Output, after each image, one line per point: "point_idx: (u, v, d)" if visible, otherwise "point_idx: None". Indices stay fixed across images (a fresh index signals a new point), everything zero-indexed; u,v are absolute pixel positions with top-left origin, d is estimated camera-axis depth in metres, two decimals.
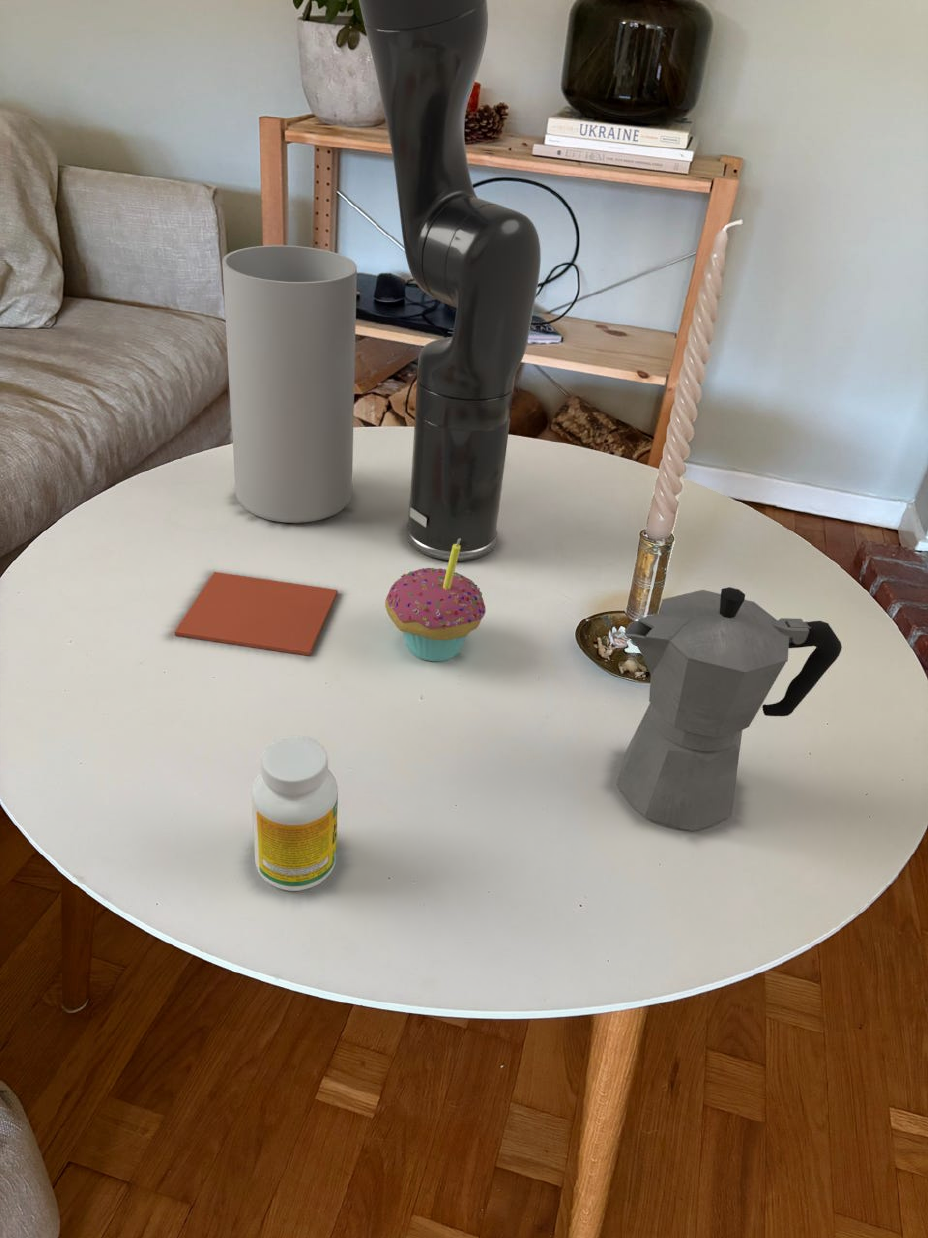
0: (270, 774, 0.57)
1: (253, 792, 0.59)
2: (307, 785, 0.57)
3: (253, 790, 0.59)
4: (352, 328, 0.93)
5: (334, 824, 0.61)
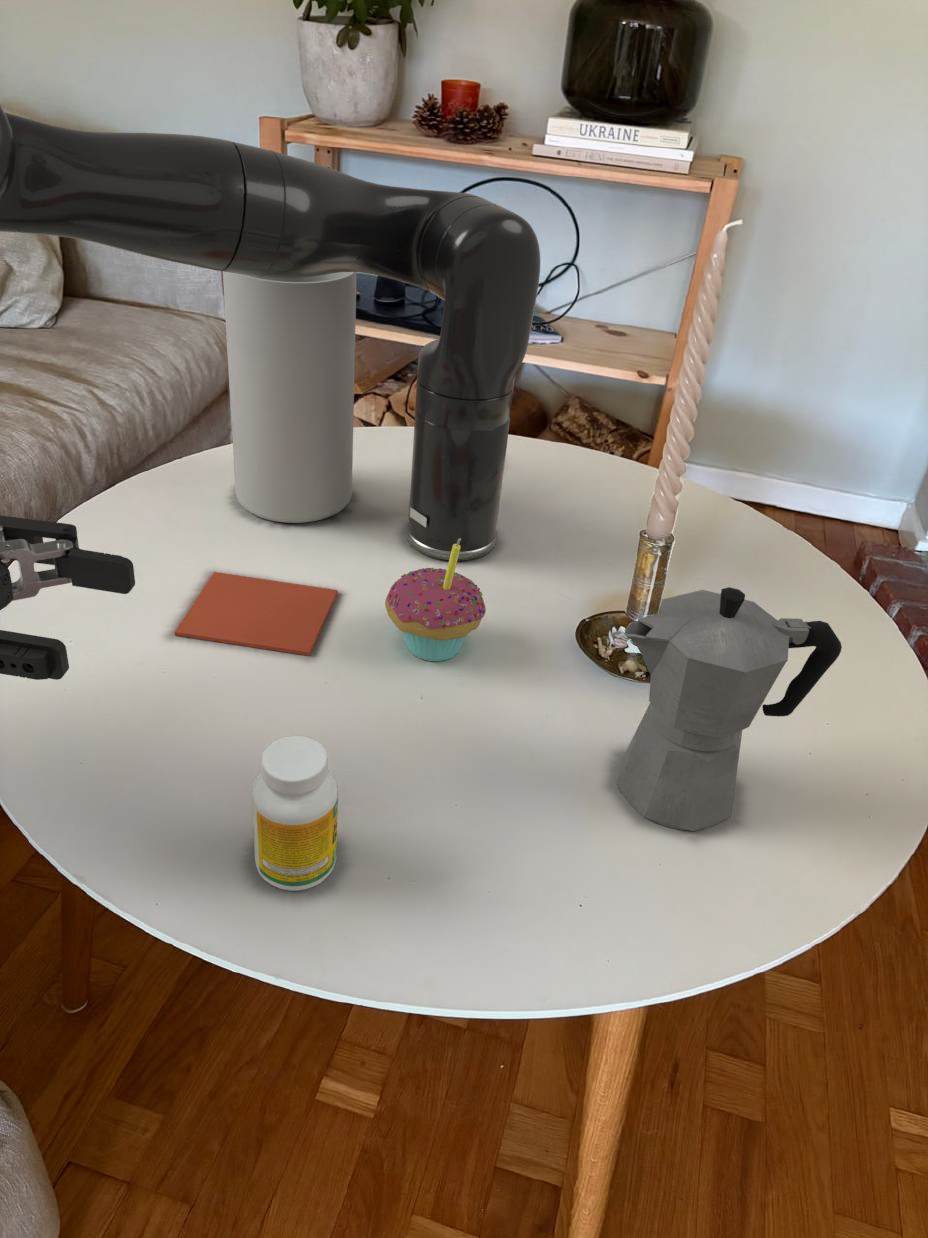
0: (270, 773, 0.57)
1: (253, 792, 0.59)
2: (307, 785, 0.57)
3: (253, 790, 0.59)
4: (352, 328, 0.93)
5: (334, 824, 0.61)
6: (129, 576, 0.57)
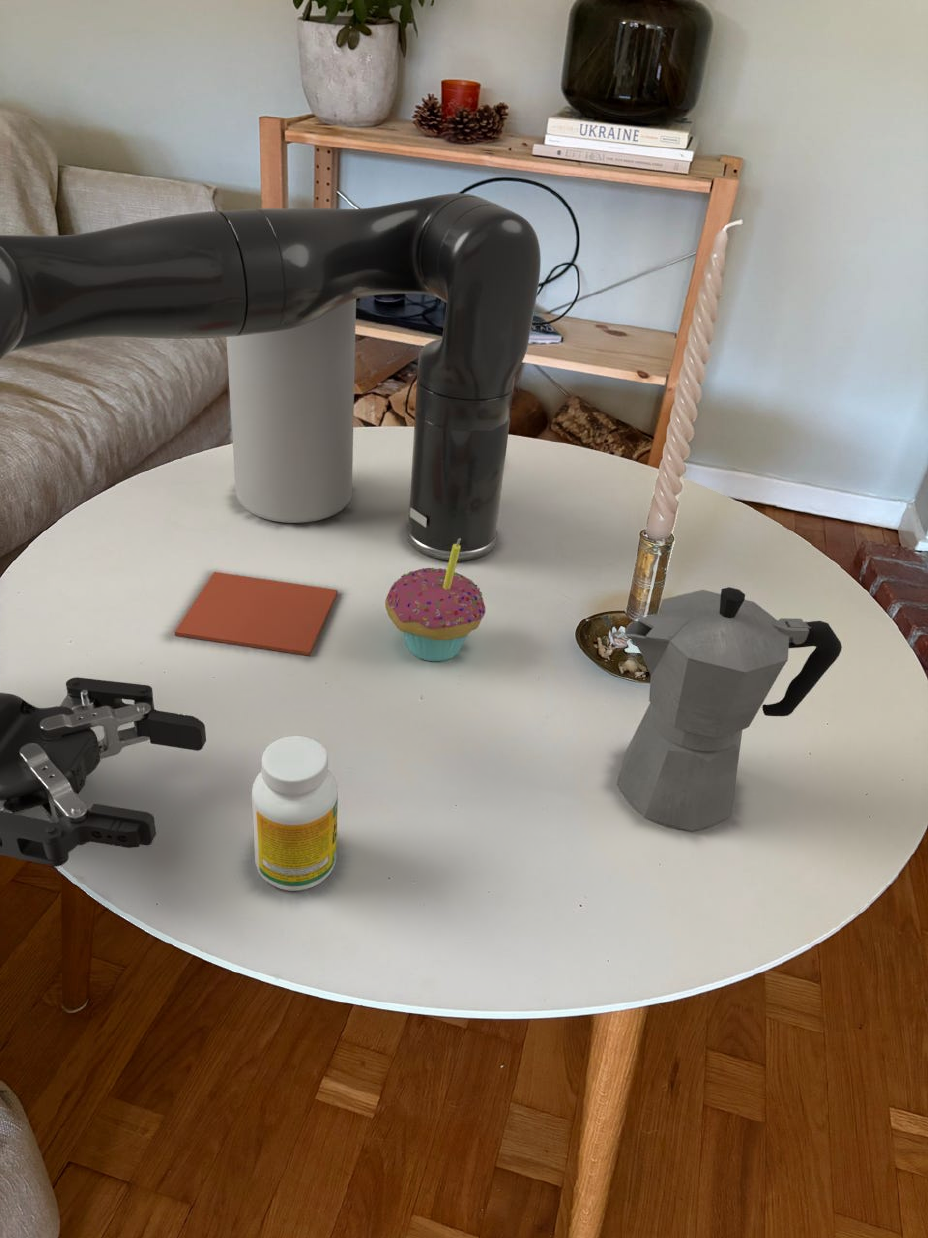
0: (270, 774, 0.57)
1: (253, 792, 0.59)
2: (307, 785, 0.57)
3: (253, 790, 0.59)
4: (352, 328, 0.93)
5: (334, 824, 0.61)
6: (201, 737, 0.64)
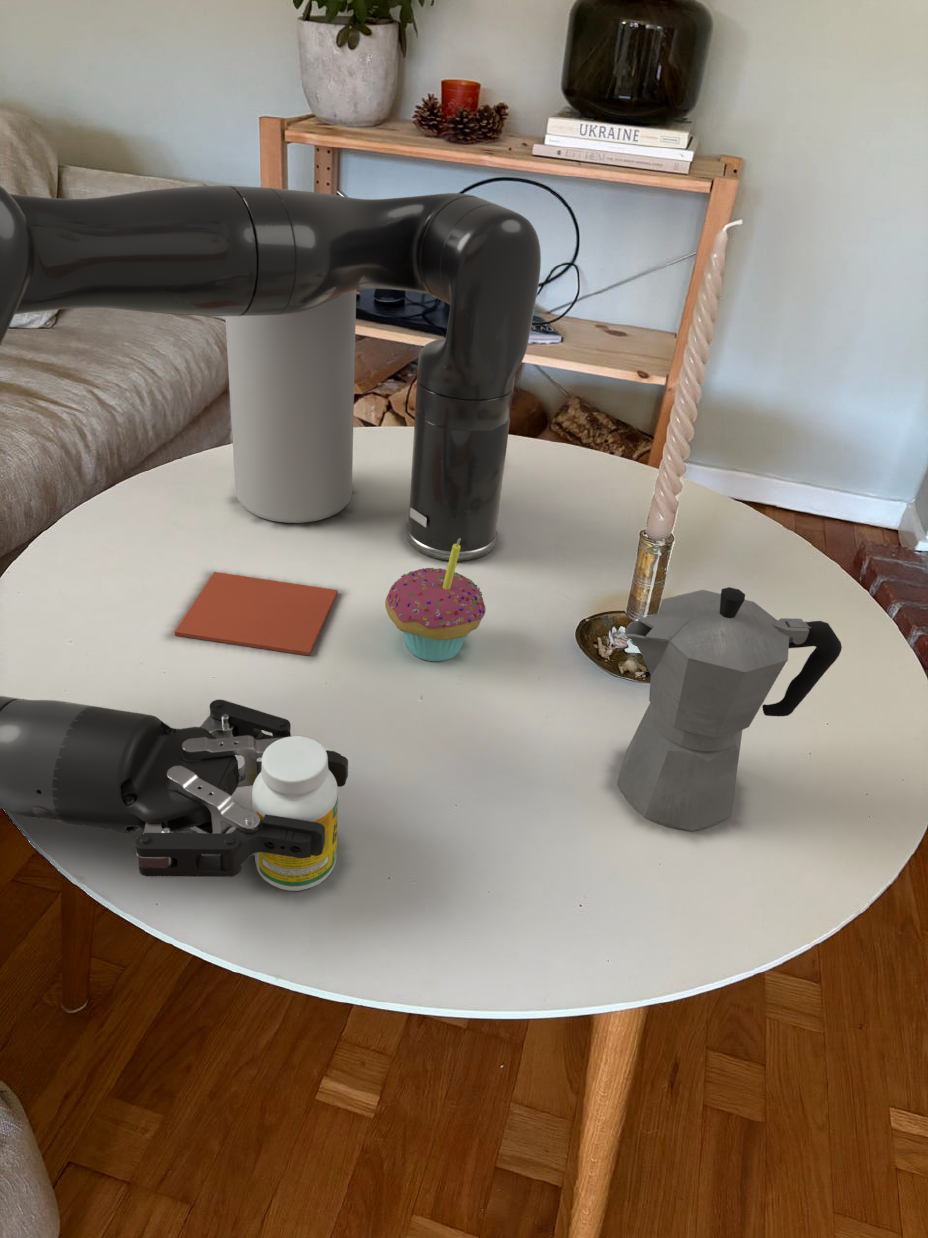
0: (270, 774, 0.57)
1: (253, 792, 0.59)
2: (306, 785, 0.57)
3: (253, 790, 0.59)
4: (352, 328, 0.93)
5: (334, 824, 0.61)
6: (345, 773, 0.62)
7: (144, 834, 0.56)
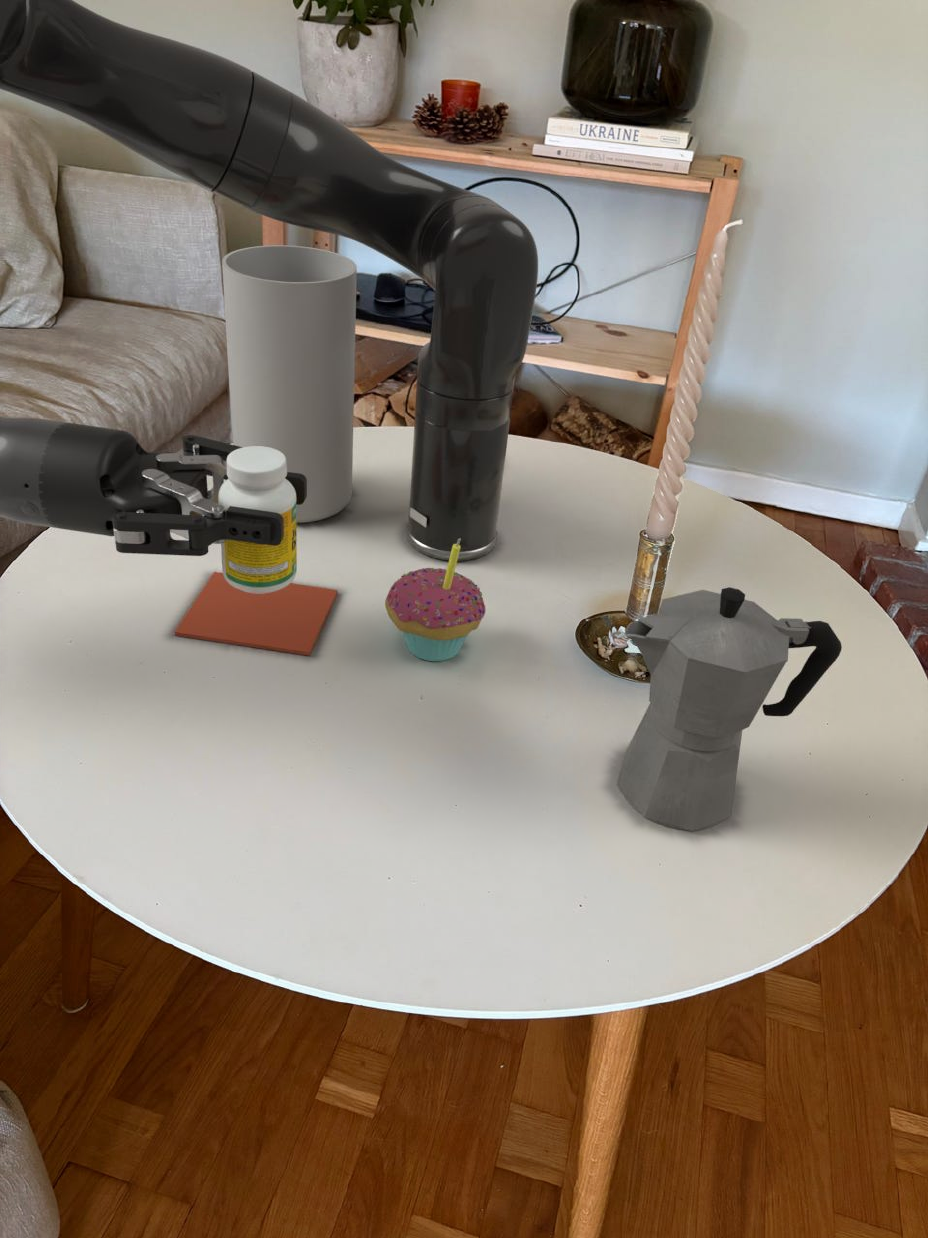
0: (234, 467, 0.64)
1: (219, 493, 0.66)
2: (266, 478, 0.64)
3: (219, 491, 0.66)
4: (352, 328, 0.93)
5: (293, 529, 0.68)
6: (304, 489, 0.69)
7: (120, 512, 0.62)
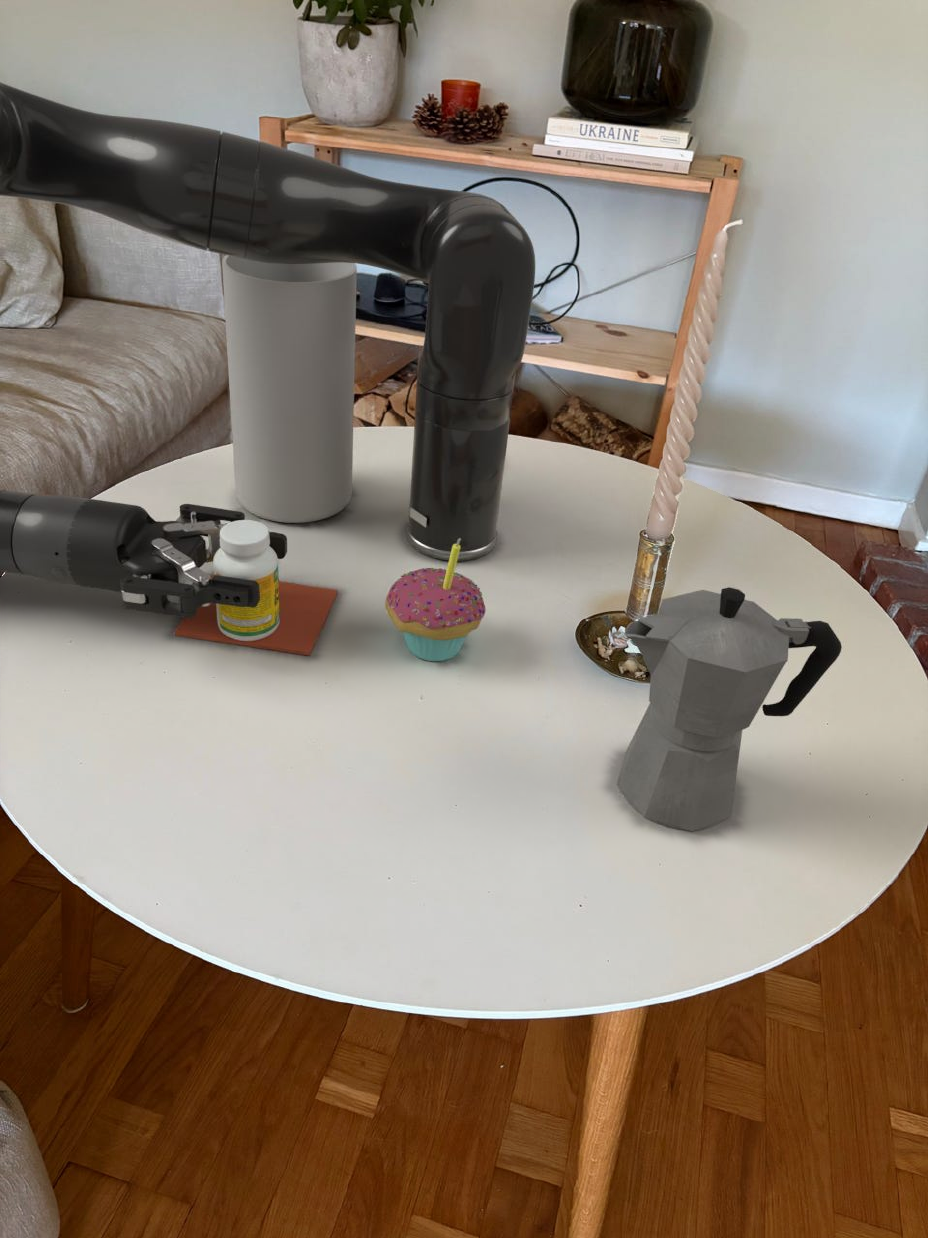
0: (225, 539, 0.78)
1: (214, 559, 0.80)
2: (252, 548, 0.78)
3: (214, 558, 0.80)
4: (352, 328, 0.93)
5: (275, 588, 0.81)
6: (284, 546, 0.84)
7: (128, 576, 0.76)
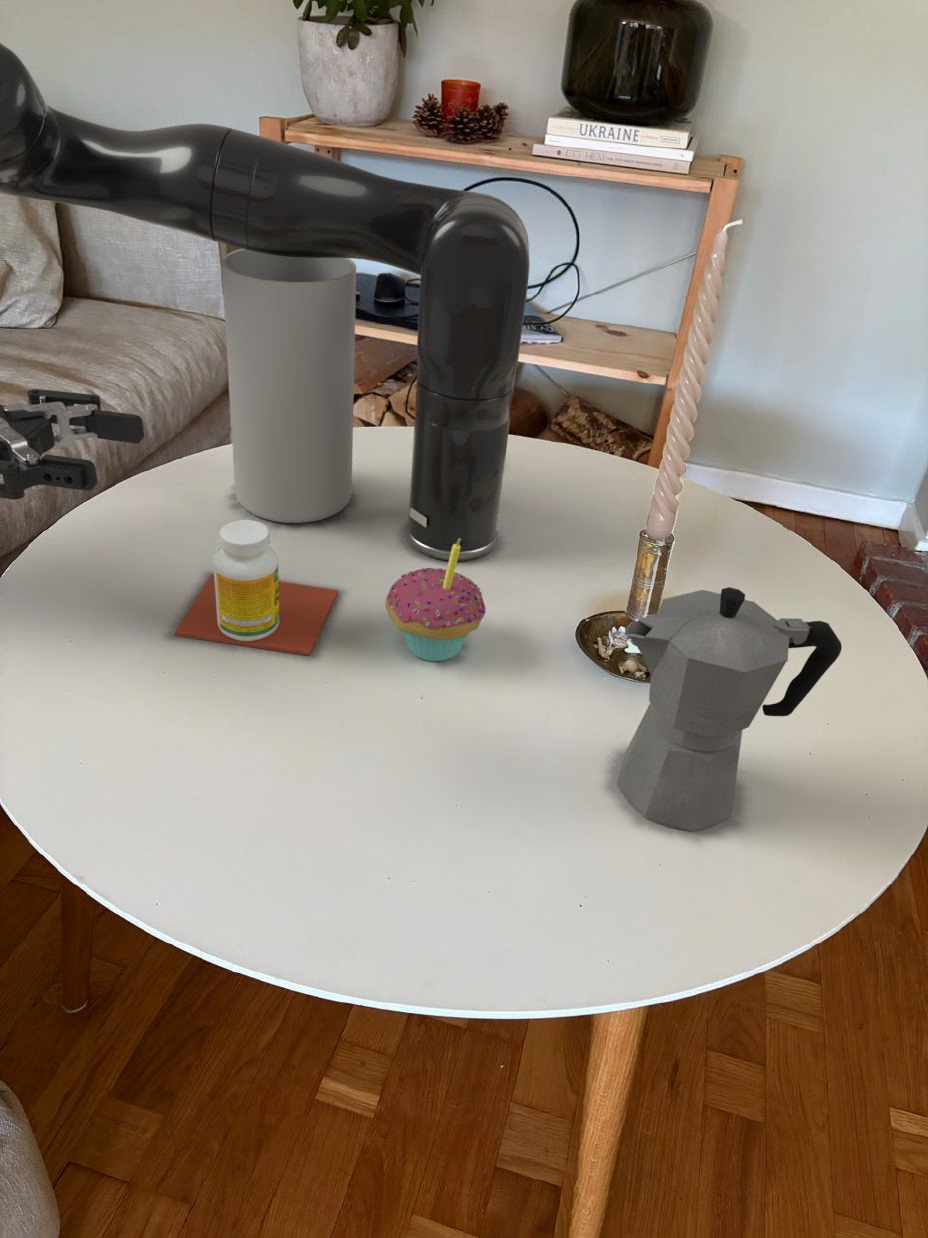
0: (225, 539, 0.78)
1: (214, 559, 0.80)
2: (252, 548, 0.78)
3: (214, 558, 0.80)
4: (350, 329, 0.92)
5: (275, 588, 0.81)
6: (139, 428, 0.77)
7: None
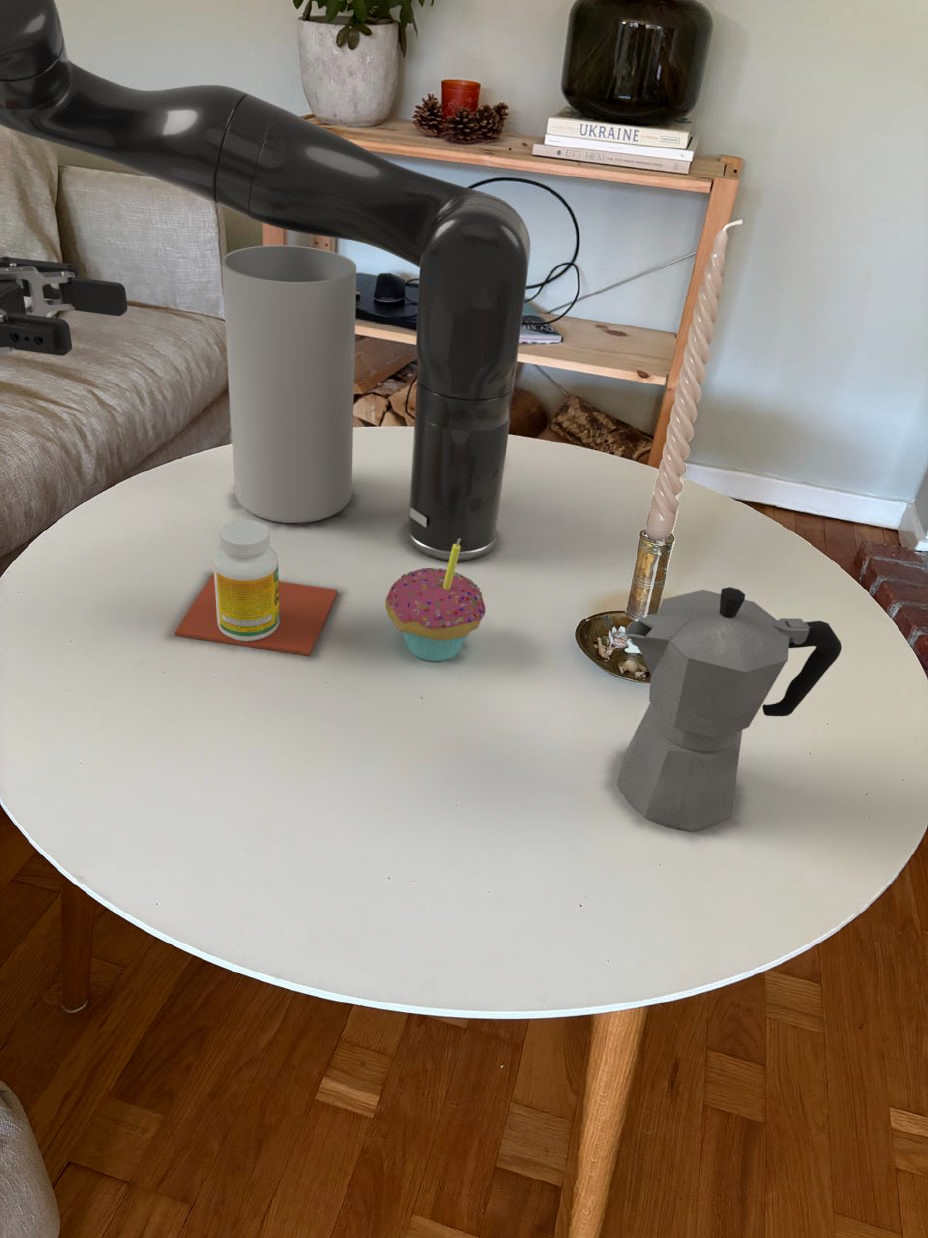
0: (225, 539, 0.78)
1: (214, 559, 0.80)
2: (252, 548, 0.78)
3: (214, 558, 0.80)
4: (350, 329, 0.92)
5: (275, 588, 0.81)
6: (122, 298, 0.68)
7: None
